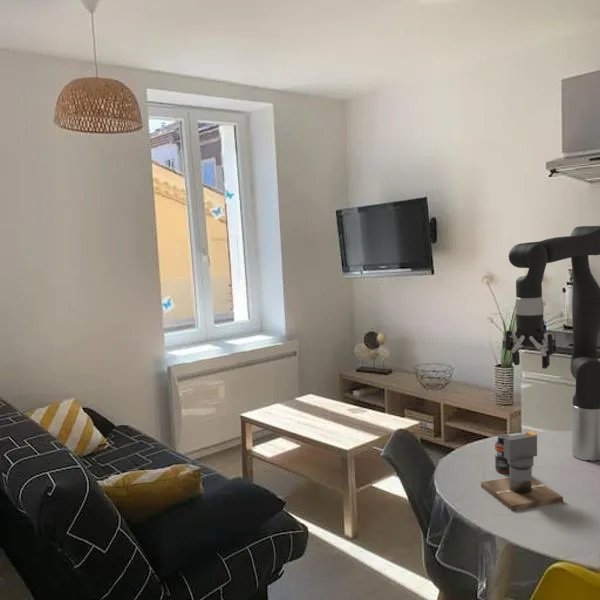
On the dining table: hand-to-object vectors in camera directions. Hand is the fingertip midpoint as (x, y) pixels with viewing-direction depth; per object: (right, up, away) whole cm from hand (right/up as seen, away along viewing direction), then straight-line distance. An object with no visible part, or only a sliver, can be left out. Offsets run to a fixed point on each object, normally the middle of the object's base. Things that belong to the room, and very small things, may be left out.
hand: (530, 366), depth 177 cm
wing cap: (-5, -27, -5) cm, 28 cm away
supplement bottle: (-3, -35, +13) cm, 37 cm away
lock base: (-4, -37, -4) cm, 37 cm away
